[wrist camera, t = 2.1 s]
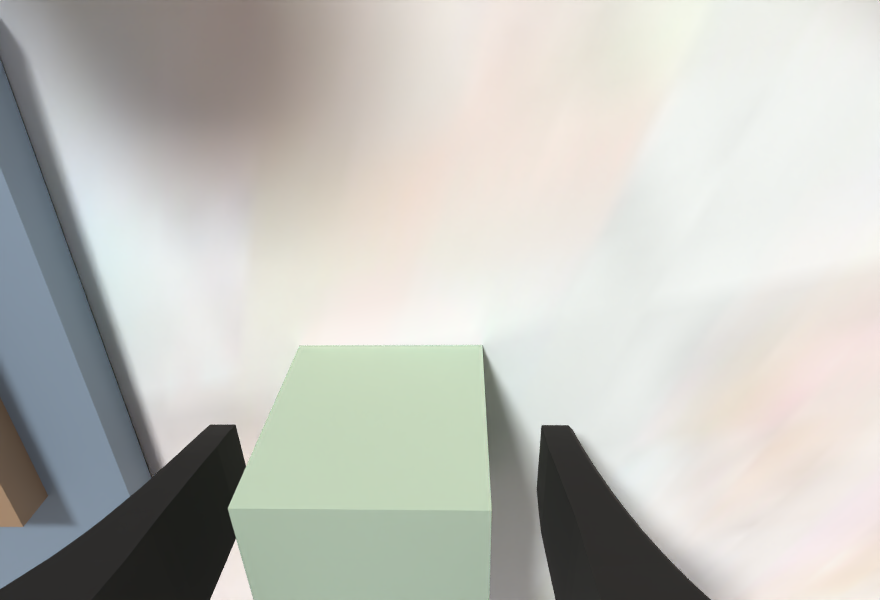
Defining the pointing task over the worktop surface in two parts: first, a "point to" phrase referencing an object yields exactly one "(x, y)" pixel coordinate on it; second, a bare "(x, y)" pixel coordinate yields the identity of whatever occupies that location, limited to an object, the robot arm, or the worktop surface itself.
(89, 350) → the board
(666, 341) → the worktop surface
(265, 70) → the worktop surface
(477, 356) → the sage block
